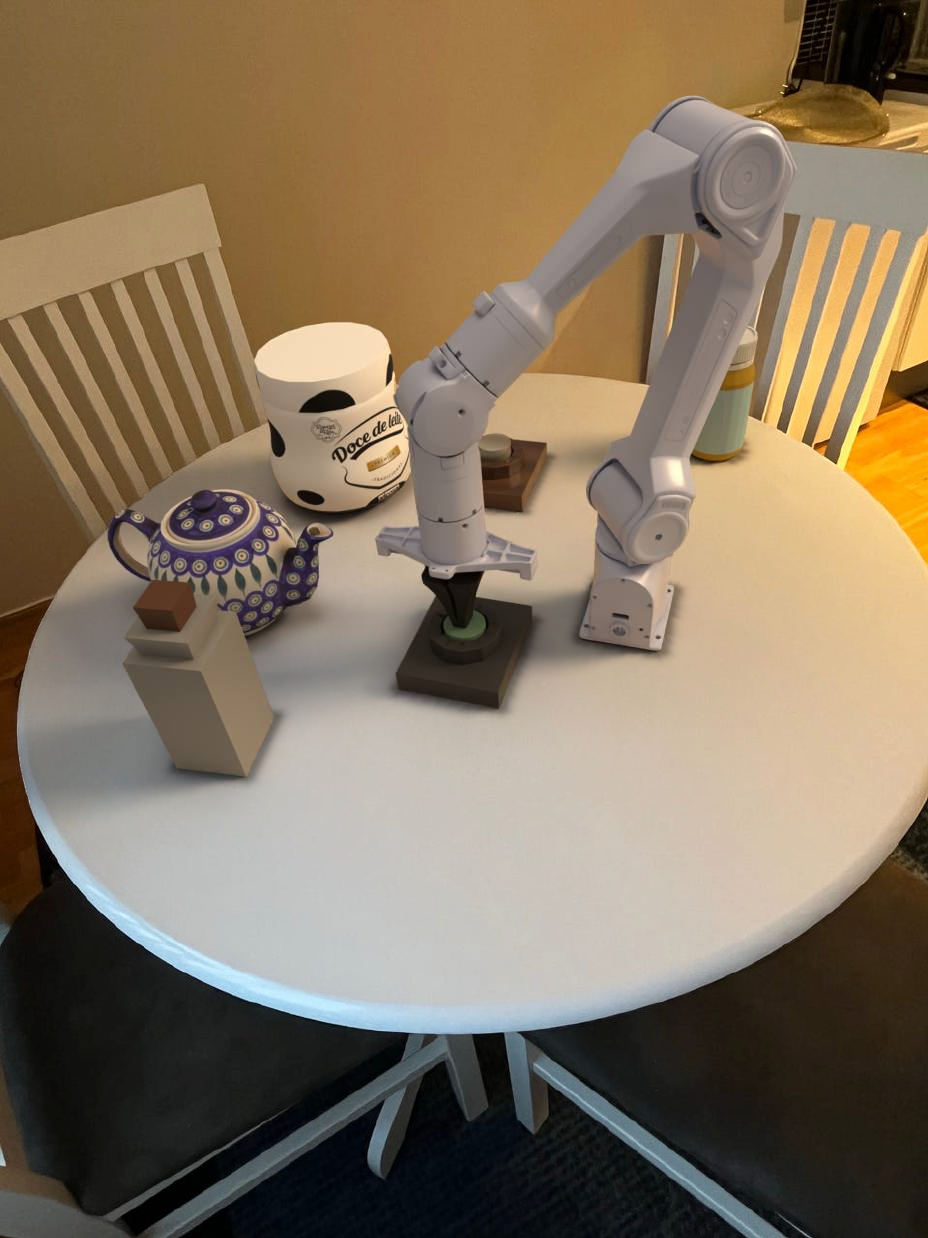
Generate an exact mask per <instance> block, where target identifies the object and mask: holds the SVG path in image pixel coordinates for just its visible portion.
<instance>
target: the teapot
mask: <svg viewBox="0 0 928 1238" xmlns="http://www.w3.org/2000/svg"><path fill="white" fill-rule="evenodd" d="M123 523H127V524H129V525H131V526H133V527H134V528H135V529H136V530H138V532H140V533H141V534H142V535H143V536H144V538H145V539H146V540H147V542H148V543H149V545H148V549H147V556H146V557H147V558H146V559H147V560H146V561H147V566H146V565H144V564H142V563H141V562H139V561H138V560H136V559H135V558H134V557H133V556H131V554H130V553H129V552H128V550H127V549H126V547H125V546H124V543H123V539H122V537H121V526H122V525H123ZM332 537H334V531H333V529H332V528H331V527H330V526H328V525H327V524H325V523H322V522H312V523H310V524H308V525H306V526H305V527H304V529H303V530H302V532H301V533H300V536H299V537H298V540H297V541H296V538H295V536H294V533H293V531H292V529H291V528H290V525H289V524H288V522H287V520H286V519H285V518H284V517H283V515H281V514H280V512H278V511H277V510H276V509H274V508H273V507H271V506H270V505H268V504H267V503H265V502H263V501H261V500H258V499H254V498H253V497H252V496H251V495H249V494H247V493H246V492H245V493H244V492H242V491H240V490H237V489H227V488H225V489H222V488H221V489H212V490H211V489H202V490H198V491H197V492H195V493H193V495H192V496H189V497H187V498H185V499H183V500H181V501H180V502H178V503H177V504H175V505H174V506H172V507H171V508H170V509H169V510H168V511H167V512H166V514H165V515H164V516H163V518H162V520H161V522H156V521H154V520H153V519H152V518H149V517H148V516H146V515H145V514H142V513H140V512H138V511H136V510H133V509H129V508H125V509H122V510H120V511H119V512H117V513H116V514H115V515H114V516H113V518H112V519H111V521H110V522H109V525H108V529H107V542H108V546H109V548H110V549H109V550H111V553H112V554H113V556H114V558H115V559H116V561H117V562H118V563H119V565H121V566H122V567H123V568H124V569H125V570H126V571H127V572H129V573H130V574H131V575H133V576H134V577H135V576H136V577H137V578H139V579H141V580H143V581H146V582H150V583H151V581H152V580H163V581H176V582H189V583H191V587H192V591H193V594H197V595H209V596H217V610H221V611H233V612H236V614H237V617H238V619H239V622H240V625H241V628H242V630H243V633H244V636H250V635H252V634H255V633H258V632H259V631H261V630H263V629H265V628H266V627H268V626H269V625H270V624H272V623H273V622H274V621H275V620H276V619H277V618H278V617H279V616H281V614H282V613H284V612H285V610H286V609H287V608H289V607H292V606H293V607H294V606H297V605H302V604H303V603H305V602H306V601H308V600H310V599H311V598H312V596H313V595H314V593H315V592H316V590H317V588H318V586H319V579H320V558H319V546H320V544H321V543H323V542H324V541H327V540H329V539H331V538H332Z"/></svg>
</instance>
